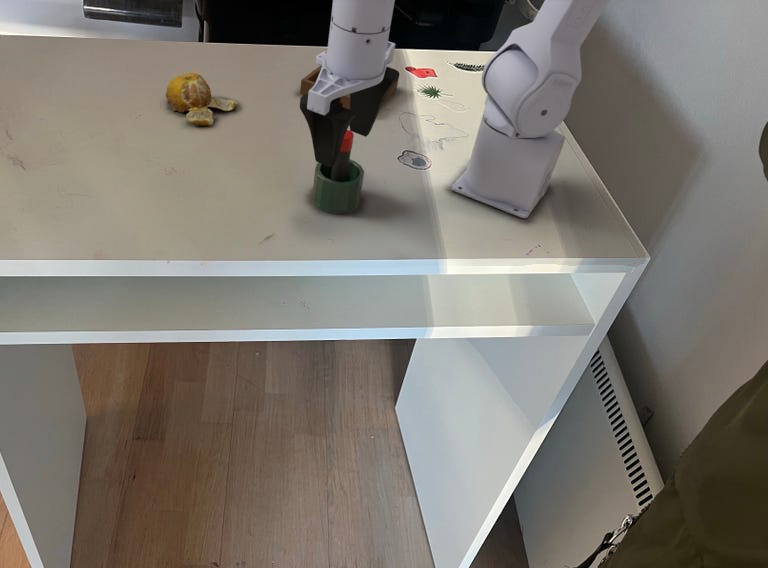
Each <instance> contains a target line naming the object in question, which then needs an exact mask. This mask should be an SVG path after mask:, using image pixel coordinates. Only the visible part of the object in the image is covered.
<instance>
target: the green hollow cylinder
mask: <svg viewBox="0 0 768 568" xmlns="http://www.w3.org/2000/svg"><path fill="white" fill-rule="evenodd" d="M331 172H332V167H328V166H326V165H324V164H321V163H319V162H316V165H315V169H314V176H313V185H312V197H311V198H312V199H311V200H312V203H313V204H314V205H315V207H317V208H318V209H319V210H321V211H323V212H325V213H328V214H332V215H345V214H349V213H352V212H353V211H355V210H356V209H357V208H358V207H359V205H360V198H361V193H362V188H363V182H364V177H365V170H364V168H363V166H362V165H361V164H359V163H358V162H357V161H355V160H353V159H351V158H350V160H349V167H348V174H347V180H346V182H337V181H332V180H330V179H331Z"/></svg>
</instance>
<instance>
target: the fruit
mask: <svg viewBox="0 0 768 568" xmlns="http://www.w3.org/2000/svg"><path fill="white" fill-rule="evenodd" d="M165 98H166V100H167V101H168V103H169V104H170V108H171V109H173V111H174V112H176V111H177V112H178V113H184V112H186V111H189V112H188V113H186V114H185V118H186V121H187V122H188V123H190V124H197V125H200V126H213V123H214V122H215V121H214V119H213V116H214V112H213V111H212V110H211V109H210V107H212V108H216V109H218V110H221V111H224V112H229V111H232V110H234V109H235V108H236V107H237V105H238V103H237V101H236V100H232V99H224V98H221V97H215V96H212V91H211V88H210V86H209V84H208V83H207V81H206V80H205V78H203V76H202V75H201V74H199V73H194V72H189V73H183V74H181V75H178V76H176V77H174V78H172V79H171V80H170V82H169V83H168V85H167V87H166V91H165Z"/></svg>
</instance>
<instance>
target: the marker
mask: <svg viewBox="0 0 768 568" xmlns="http://www.w3.org/2000/svg"><path fill="white" fill-rule="evenodd" d="M354 137H355V134H354V132H352V131H350V129H347V131H346V133H345V136H344V138H343V142H342V145H341V149H340V153H339V156H338V159H337V161H336V163H335V165H334V166H333V167H332V172H331V179H330V180H332V181H337V182H346V180H347V174H348V167H349V160H350V159H351V154H352V153H351V152H352V149H353V143H354Z"/></svg>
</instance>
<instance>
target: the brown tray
mask: <svg viewBox="0 0 768 568" xmlns="http://www.w3.org/2000/svg"><path fill="white" fill-rule="evenodd" d="M321 68H322V66H321V65H319V66H318V67H316V68H315V69H314V70H313V71H311V72H310V73H308V74H307V75H306V76H304V77H303V78H302V79H301V81H300V90H299V91H300V92H299V94H300V95H302V96H303V95H305V94H306V93H307V92H309V90H310V89H311V88H312V87H313V86H314V85H315V83H316V81H317V78H318V76H319V73H320V71H321ZM398 84H399V80H398V81H397V82H396V83H395V84H394V86H393V87H392V88H391V90H390V91H389V93H388V94H387V96H386V98H385V100H384V101H383V103H385V102H386V101H387V100H388V99H389V98H391V96H393V95H394V94H395V93H396V92H397V89H398ZM339 98H341V101H340V103H343V107H344V108H347V109H349V110H350V94H348V95H345V96H342V97H339Z"/></svg>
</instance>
